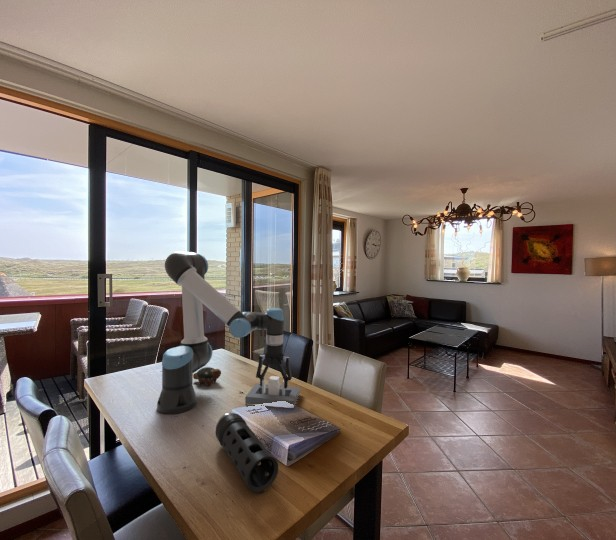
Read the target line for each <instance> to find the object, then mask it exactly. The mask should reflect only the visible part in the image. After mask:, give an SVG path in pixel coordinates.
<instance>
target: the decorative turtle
mask: <svg viewBox="0 0 616 540" xmlns="http://www.w3.org/2000/svg"><path fill="white" fill-rule="evenodd" d="M221 375H222V371H221V369H220V368H213V367H210V366H209V367H207V366H206V367H205V366H204V367H202V368H200V369H198V370H197V371H196V372H194V373H193V379H194V380H197V381H198V384H199V385H201V386H203V385H204V384H206V385H207V386H208V387H211V385H212V384H213V383H216V382H217V379H219V378H220V377H221Z"/></svg>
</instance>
